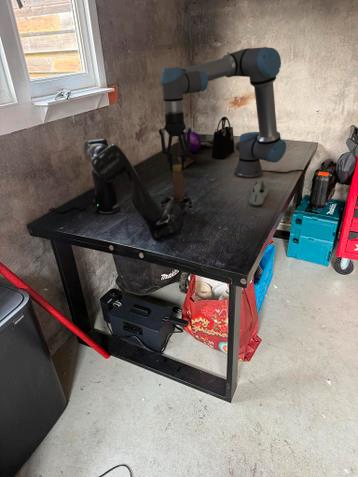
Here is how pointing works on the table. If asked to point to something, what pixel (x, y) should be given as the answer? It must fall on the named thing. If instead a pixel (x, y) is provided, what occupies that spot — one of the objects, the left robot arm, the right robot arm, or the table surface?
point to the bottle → (178, 186)
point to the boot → (188, 156)
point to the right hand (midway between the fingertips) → (177, 169)
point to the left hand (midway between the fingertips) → (179, 195)
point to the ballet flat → (258, 193)
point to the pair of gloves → (207, 141)
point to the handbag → (223, 140)
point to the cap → (177, 167)
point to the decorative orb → (194, 141)
